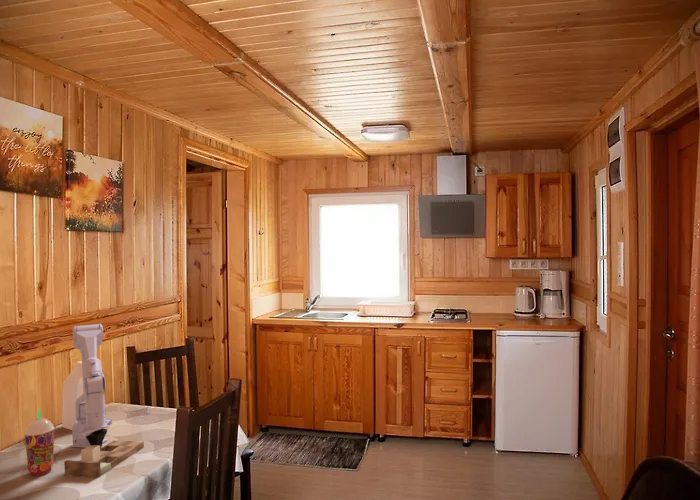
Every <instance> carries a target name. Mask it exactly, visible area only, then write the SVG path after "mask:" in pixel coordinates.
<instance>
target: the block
mask: <svg viewBox="0 0 700 500" xmlns="http://www.w3.org/2000/svg"><path fill="white" fill-rule="evenodd" d="M80 454H81V455H80V456H81V459H82V461H96V460H97V459H99V458H100V446H98V445H89V446H87V447H85V448H82V449H81V453H80ZM81 459H80V460H81Z"/></svg>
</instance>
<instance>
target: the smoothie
mask: <svg viewBox="0 0 700 500" xmlns="http://www.w3.org/2000/svg"><path fill="white" fill-rule="evenodd" d="M55 428H56V427H55V426H54V424H53V423H52V422H51V420H49V419H47V418H45V417H41V410H40V409H38V410H37V419H34V420H31V422H30V423H29V424H28V425H27V427H26V430H25V431H24V432H23V433H24V439H25V440H24V441H25V450H26V459H27V460H26V461H27V469H28V472H29V473H30V474H29V475H31V476H35V477H36V476H37V477H38V476H43V475H45V474H48V473H50V472H51V470H52V467H54V453H55V452H54V449H55V447H54V445H55Z"/></svg>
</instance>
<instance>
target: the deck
mask: <svg viewBox="0 0 700 500" xmlns="http://www.w3.org/2000/svg"><path fill="white" fill-rule="evenodd" d="M143 448H145V444H144V441H138V440H137V441H135V440H112V441H111V442H109V443H107V444H105V445H104V446H102V447H101V451H100V458H99V459H97V460H96V461H82V459H80V460H74V459H73V460H72V459H69V460H68V459H67V460H65V461H64V462H63V463H64V464H63V465H64V476H65V475H72V476H71V477H81V476H85V477H84V478H100V477H101V476H103V475H104V474H107V472H109V471H110V470H112V469H113V468H115V467H116V466H118V465H120V464H121V463H122V462H124V461H125V460H127V459H129V458H130V457H131V456H133V455H135V454H137V452H139V451H141V450H142V449H143Z"/></svg>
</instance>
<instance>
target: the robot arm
mask: <svg viewBox="0 0 700 500" xmlns="http://www.w3.org/2000/svg"><path fill="white" fill-rule="evenodd" d="M103 339H104V326H103V324H102V323H98V324H96V323H95V324H87V325H86V324H85V325H74V326H73V327H72V343H73V347H74V349H77V350H79V352H80V354H81V362H82V376H83V394H82V395H81V396H80V397H79V398H77V399H76V401H75V417H76V420H77V421H76V422H75V423H74V425H73V428H72V430H71V432H72V445H71V446H70V447H71V448H82V449H84V448H85V447H87V446H89V445H98V446H100V451H101V448H102V447H103V444H104V443H105V442H107V441H108V440H109V439H108V438H105V437H106V434H107V433H108V429H107V428H108V427H109V426H110V425H112V424H113V418H111V417H110V418H107V417H106V411H107V408H106V407H107V406H106V401H105V400H106V399H105V392H106V389H107V383H106V382H107V381H106V378H105V377H106V376H105V375H104V372H103V368H102V367H103V366H102V361H101V359H99V358H98V352H97V351H98V350H97V348H98V347H100V346H102V343H103ZM85 401H86V402H85ZM82 402H85V403H82ZM80 403H81V404H80Z"/></svg>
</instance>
